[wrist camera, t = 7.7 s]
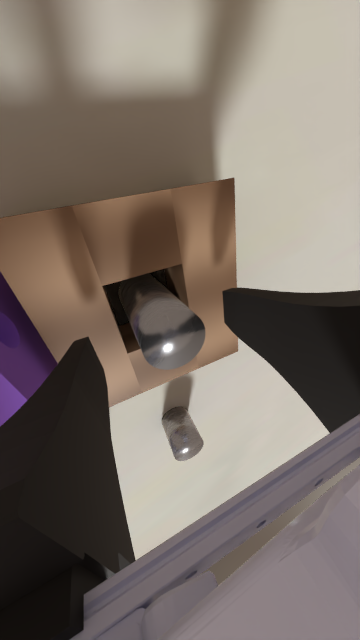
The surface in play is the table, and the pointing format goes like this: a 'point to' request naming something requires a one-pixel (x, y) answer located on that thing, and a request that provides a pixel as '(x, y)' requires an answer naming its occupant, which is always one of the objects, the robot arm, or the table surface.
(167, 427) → the short pin
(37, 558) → the robot arm
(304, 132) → the table surface
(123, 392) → the hole block
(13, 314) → the bracket
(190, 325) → the tall pin
